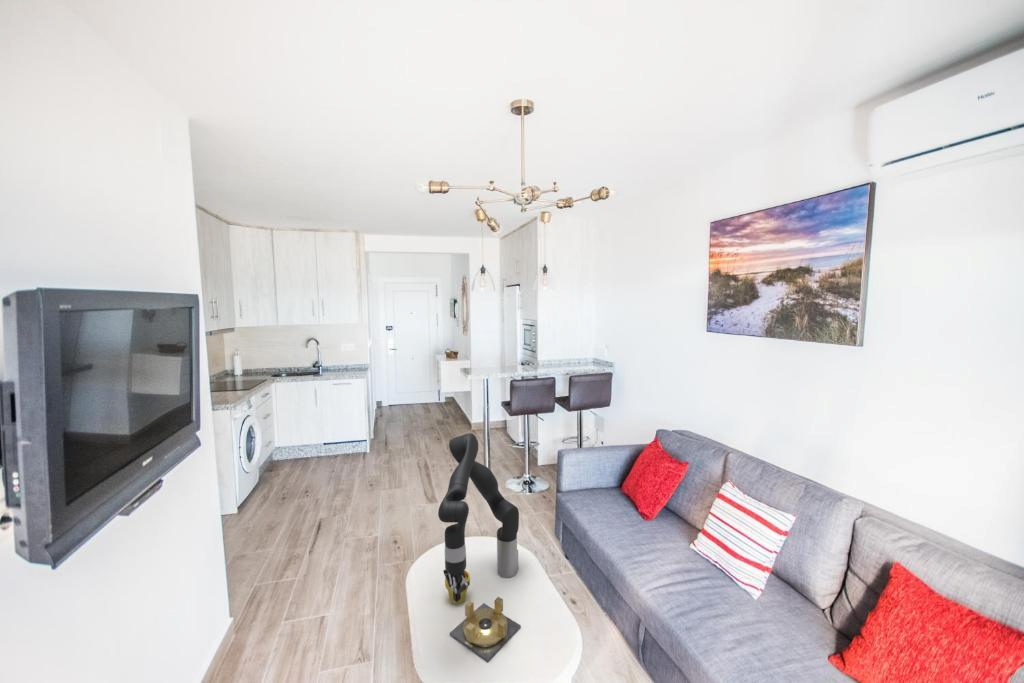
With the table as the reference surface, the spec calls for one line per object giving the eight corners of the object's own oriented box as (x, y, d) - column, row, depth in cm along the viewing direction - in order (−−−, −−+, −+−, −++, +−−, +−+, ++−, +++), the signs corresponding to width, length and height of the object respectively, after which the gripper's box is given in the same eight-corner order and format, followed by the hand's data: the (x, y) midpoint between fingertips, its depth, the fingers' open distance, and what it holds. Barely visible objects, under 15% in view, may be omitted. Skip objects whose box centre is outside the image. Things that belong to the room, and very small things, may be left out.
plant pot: (465, 608, 169) (465, 586, 168) (441, 605, 171) (441, 583, 170) (473, 591, 179) (472, 570, 178) (450, 588, 181) (450, 567, 180)
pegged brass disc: (450, 632, 155) (449, 616, 154) (482, 602, 170) (482, 588, 169) (488, 658, 144) (488, 641, 143) (519, 624, 159) (519, 608, 158)
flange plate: (483, 605, 171) (483, 602, 170) (520, 627, 159) (520, 624, 159) (449, 635, 156) (449, 632, 155) (487, 662, 144) (487, 659, 144)
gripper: (435, 552, 149) (437, 596, 151) (458, 568, 140) (460, 615, 142) (452, 543, 154) (454, 585, 156) (475, 558, 145) (476, 603, 147)
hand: (457, 599), depth 149 cm, fingers closed
